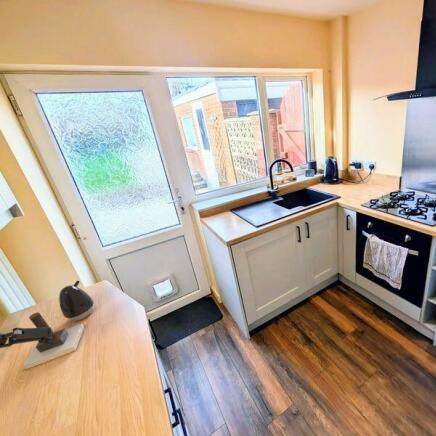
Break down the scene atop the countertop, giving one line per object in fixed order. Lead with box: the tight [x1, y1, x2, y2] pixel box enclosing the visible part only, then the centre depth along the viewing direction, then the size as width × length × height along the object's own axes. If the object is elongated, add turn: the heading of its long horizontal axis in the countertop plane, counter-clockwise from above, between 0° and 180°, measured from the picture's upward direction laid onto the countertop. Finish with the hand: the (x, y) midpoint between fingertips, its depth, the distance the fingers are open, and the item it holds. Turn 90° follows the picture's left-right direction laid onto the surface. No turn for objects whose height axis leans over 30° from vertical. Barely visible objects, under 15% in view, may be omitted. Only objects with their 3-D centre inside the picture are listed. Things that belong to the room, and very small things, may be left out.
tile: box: [22, 323, 85, 370], centre depth 91 cm, size 14×12×2 cm
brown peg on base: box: [28, 311, 68, 353], centre depth 87 cm, size 7×5×14 cm
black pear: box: [58, 280, 95, 321], centre depth 102 cm, size 10×10×15 cm
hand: (25, 349), depth 77 cm, fingers open, 13 cm apart
